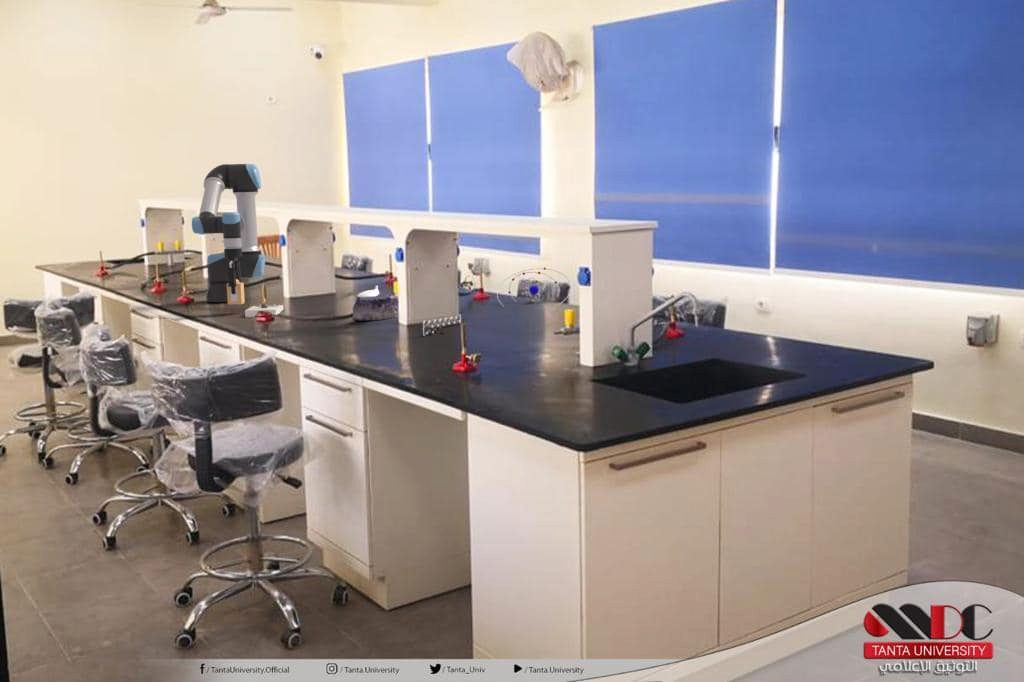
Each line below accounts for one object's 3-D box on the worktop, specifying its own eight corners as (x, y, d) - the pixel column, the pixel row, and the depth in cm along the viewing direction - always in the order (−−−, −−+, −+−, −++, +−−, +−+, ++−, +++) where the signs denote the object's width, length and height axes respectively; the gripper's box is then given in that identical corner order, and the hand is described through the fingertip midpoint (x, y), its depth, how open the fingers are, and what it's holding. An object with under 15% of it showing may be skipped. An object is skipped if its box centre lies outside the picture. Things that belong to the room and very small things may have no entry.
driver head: (386, 283, 481) (368, 277, 471) (386, 304, 478) (368, 299, 469) (370, 288, 487) (352, 282, 477) (370, 309, 484) (352, 303, 474)
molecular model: (437, 339, 367) (437, 322, 366) (418, 337, 372) (418, 320, 371) (477, 331, 387) (477, 315, 386) (458, 329, 392) (458, 313, 391)
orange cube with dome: (231, 302, 441) (229, 278, 439) (244, 302, 441) (243, 277, 440) (227, 304, 435) (226, 279, 433) (241, 304, 436) (240, 279, 434)
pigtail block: (254, 312, 444) (253, 296, 443) (283, 311, 444) (282, 296, 443) (245, 317, 426) (244, 301, 425) (276, 316, 427) (275, 300, 426)
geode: (362, 323, 398) (361, 298, 396) (346, 321, 406) (345, 297, 405) (404, 319, 411) (403, 294, 410) (388, 316, 420) (387, 293, 418)
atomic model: (527, 340, 440) (584, 303, 436) (514, 330, 420) (573, 291, 416) (497, 289, 449) (553, 252, 445) (482, 276, 430) (540, 238, 425)
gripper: (229, 246, 444) (232, 298, 447) (218, 249, 425) (222, 303, 429) (246, 246, 444) (249, 297, 448) (236, 249, 425) (240, 302, 429)
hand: (236, 300), depth 438 cm, fingers closed on orange cube with dome, 6 cm apart
